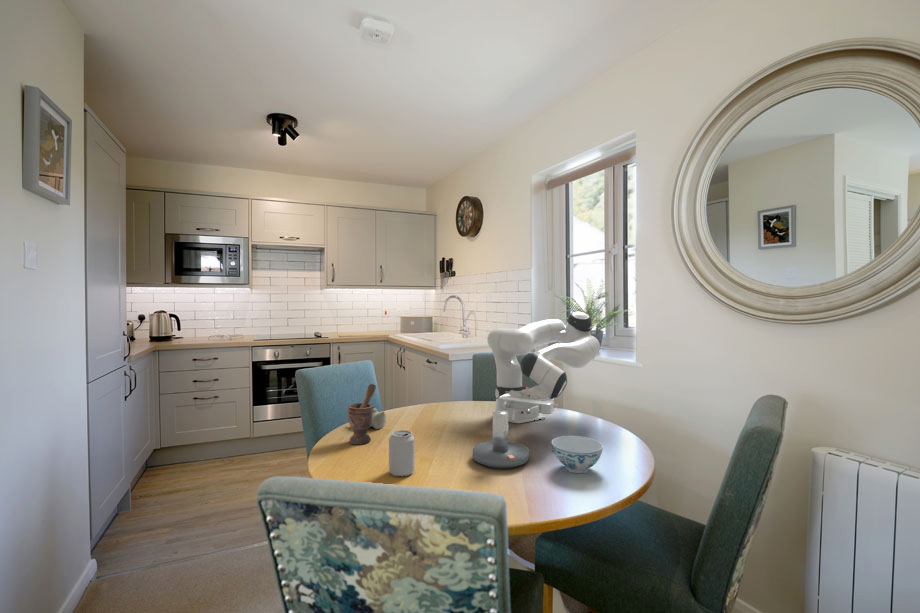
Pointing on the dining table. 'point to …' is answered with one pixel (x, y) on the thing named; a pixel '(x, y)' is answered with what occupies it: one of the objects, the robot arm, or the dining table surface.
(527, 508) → the dining table surface
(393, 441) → the can
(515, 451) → the disc
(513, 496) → the dining table surface
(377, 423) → the ceramic sculpture
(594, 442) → the chinaware
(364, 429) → the mortar and pestle
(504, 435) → the clear drinking glass
